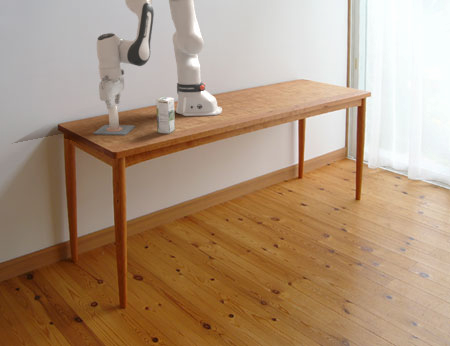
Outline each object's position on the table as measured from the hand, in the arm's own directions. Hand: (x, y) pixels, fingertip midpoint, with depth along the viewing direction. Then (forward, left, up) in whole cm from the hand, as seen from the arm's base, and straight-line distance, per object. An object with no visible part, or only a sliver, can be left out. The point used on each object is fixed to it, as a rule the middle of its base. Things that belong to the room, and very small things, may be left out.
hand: (113, 106), depth 235 cm
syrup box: (-23, -1, -11) cm, 25 cm away
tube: (+1, 0, -10) cm, 10 cm away
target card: (+1, 0, -11) cm, 11 cm away
